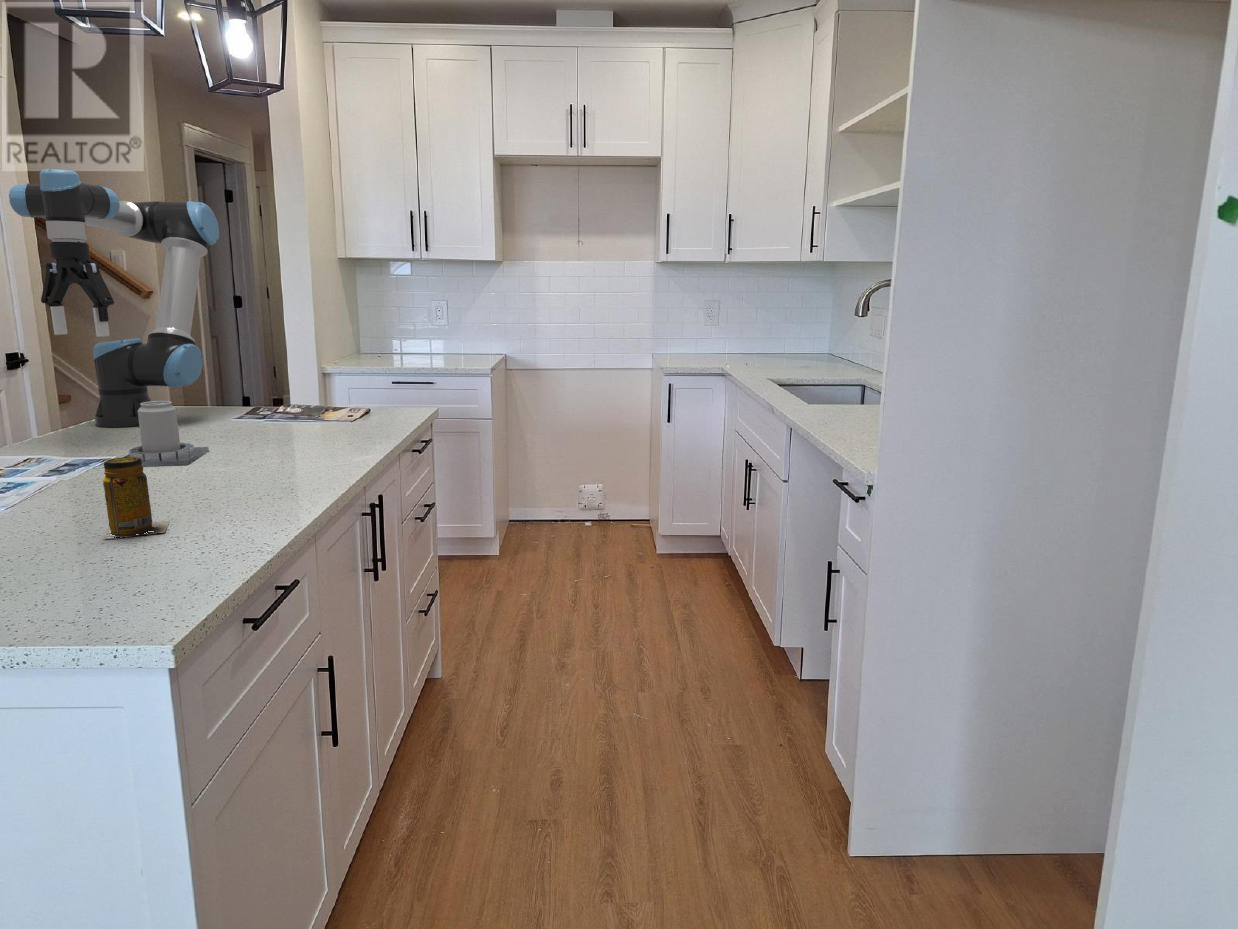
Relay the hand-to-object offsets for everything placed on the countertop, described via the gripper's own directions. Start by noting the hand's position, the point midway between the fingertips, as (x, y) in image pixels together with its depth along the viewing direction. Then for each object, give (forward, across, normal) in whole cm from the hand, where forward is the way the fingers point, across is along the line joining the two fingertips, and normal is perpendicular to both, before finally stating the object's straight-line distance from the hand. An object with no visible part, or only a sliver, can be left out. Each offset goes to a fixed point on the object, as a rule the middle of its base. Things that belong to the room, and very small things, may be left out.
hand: (81, 335), depth 187 cm
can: (+26, -25, +4) cm, 36 cm away
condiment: (+27, -66, +45) cm, 85 cm away
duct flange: (+27, -25, +4) cm, 37 cm away
